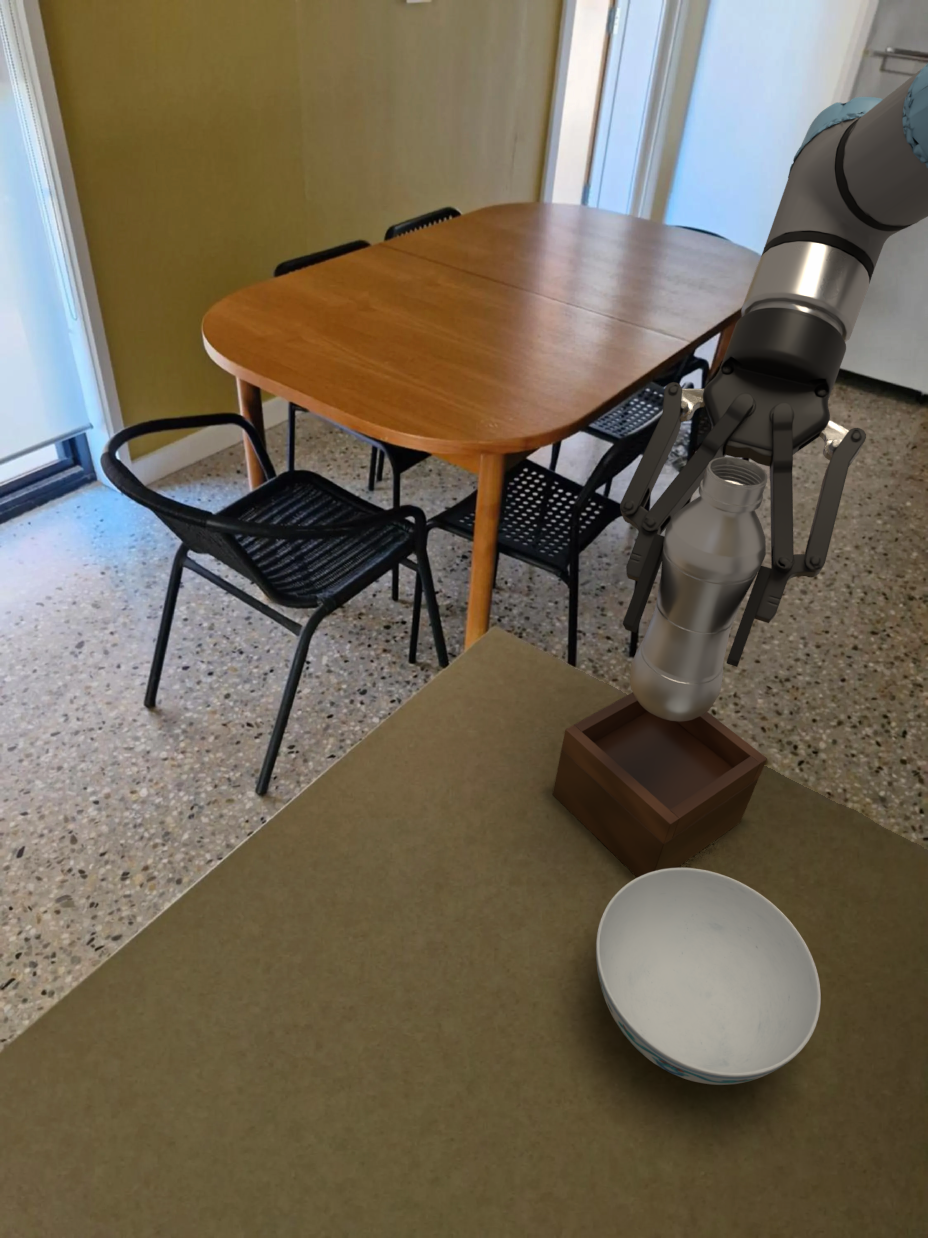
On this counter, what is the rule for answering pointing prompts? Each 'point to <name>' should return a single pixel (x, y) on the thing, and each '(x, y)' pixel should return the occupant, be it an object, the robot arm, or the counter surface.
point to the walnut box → (655, 782)
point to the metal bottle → (701, 591)
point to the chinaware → (706, 976)
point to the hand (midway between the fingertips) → (680, 644)
